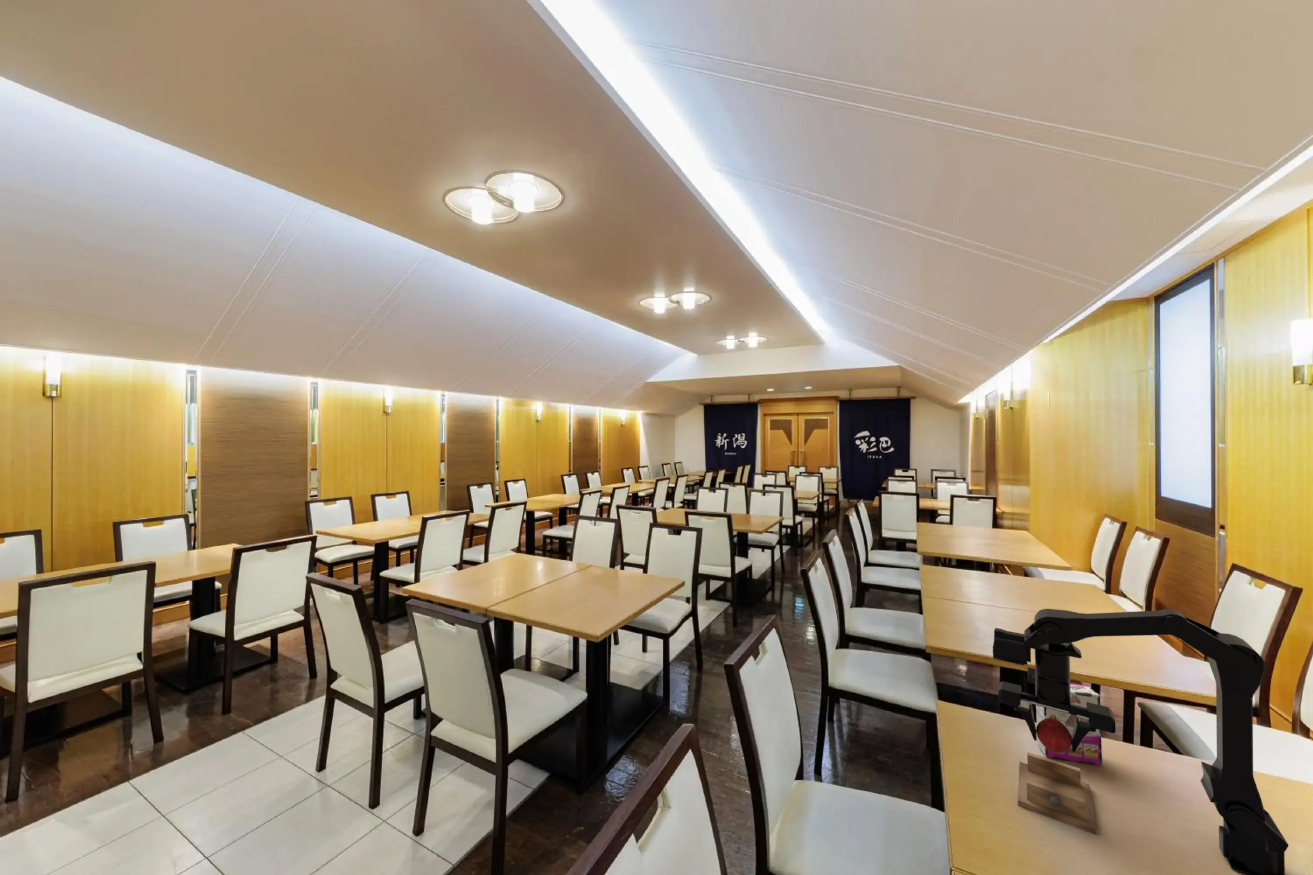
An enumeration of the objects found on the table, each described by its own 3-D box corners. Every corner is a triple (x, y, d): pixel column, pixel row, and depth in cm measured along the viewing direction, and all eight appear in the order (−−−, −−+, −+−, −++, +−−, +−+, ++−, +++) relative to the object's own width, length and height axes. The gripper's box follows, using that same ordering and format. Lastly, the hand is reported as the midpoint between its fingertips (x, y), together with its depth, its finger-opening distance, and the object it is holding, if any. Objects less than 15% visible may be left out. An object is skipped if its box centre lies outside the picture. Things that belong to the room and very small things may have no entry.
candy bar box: (1090, 752, 114) (1089, 684, 115) (1103, 766, 110) (1101, 695, 110) (1035, 744, 118) (1034, 678, 118) (1045, 757, 113) (1044, 688, 113)
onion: (1079, 763, 97) (1078, 724, 97) (1047, 760, 98) (1046, 721, 98) (1061, 745, 103) (1060, 708, 103) (1030, 742, 104) (1030, 706, 104)
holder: (1089, 788, 103) (1088, 767, 103) (1096, 834, 91) (1095, 810, 91) (1019, 765, 110) (1019, 746, 110) (1017, 804, 99) (1017, 783, 99)
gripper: (1108, 669, 101) (1109, 743, 101) (1000, 647, 113) (1001, 712, 113) (1114, 691, 93) (1116, 771, 92) (997, 664, 104) (999, 736, 104)
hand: (1054, 745), depth 101 cm, fingers closed on onion, 6 cm apart
